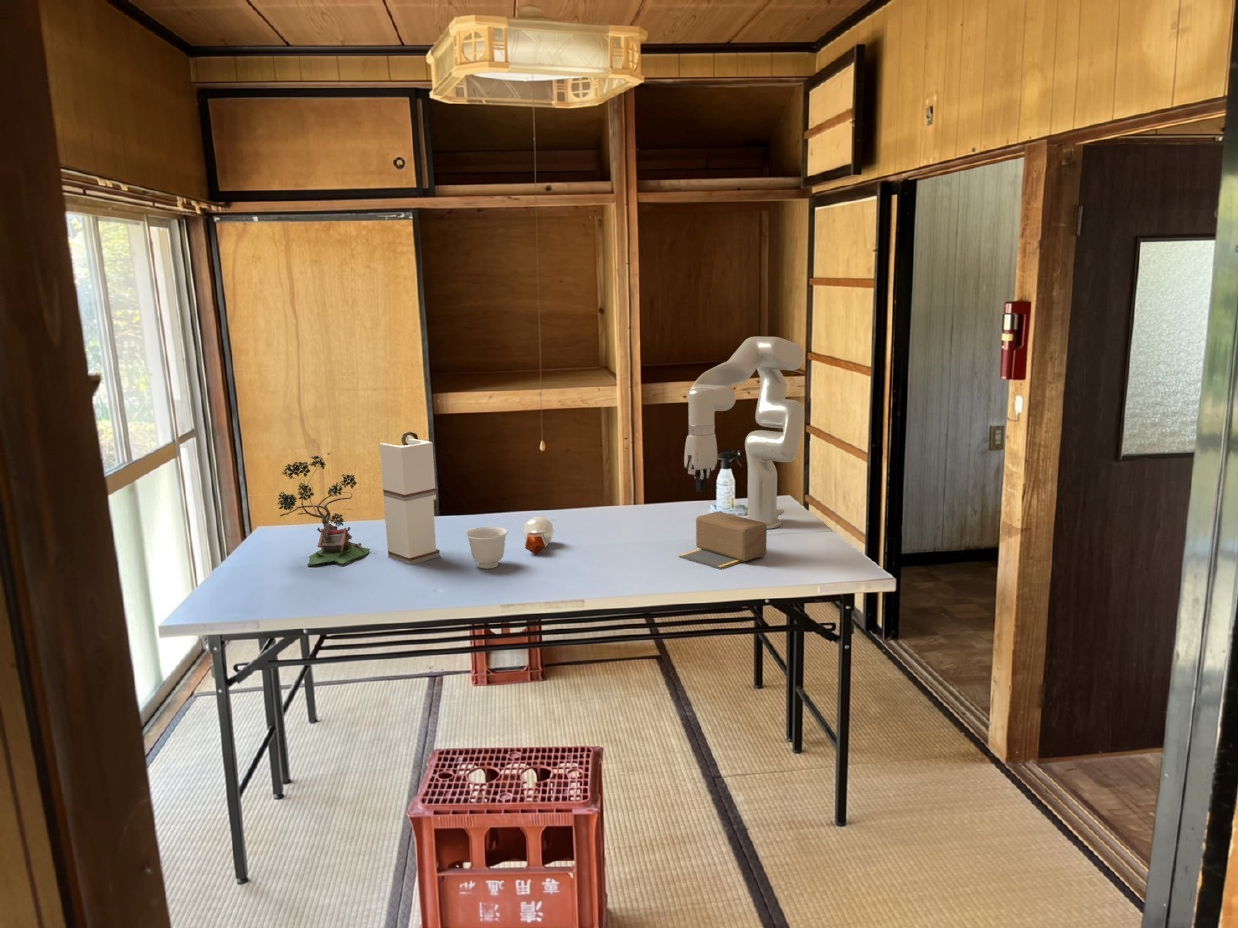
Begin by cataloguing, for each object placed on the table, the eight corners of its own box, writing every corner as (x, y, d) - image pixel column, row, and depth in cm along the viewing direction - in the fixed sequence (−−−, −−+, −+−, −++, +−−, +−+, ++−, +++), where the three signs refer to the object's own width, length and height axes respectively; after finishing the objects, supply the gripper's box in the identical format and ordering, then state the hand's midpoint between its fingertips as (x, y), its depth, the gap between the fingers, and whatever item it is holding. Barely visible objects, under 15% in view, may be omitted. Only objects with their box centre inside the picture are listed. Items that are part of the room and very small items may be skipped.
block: (717, 541, 268) (767, 555, 253) (694, 548, 262) (744, 562, 247) (717, 510, 266) (768, 522, 251) (694, 516, 260) (745, 529, 245)
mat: (719, 544, 267) (719, 542, 267) (760, 555, 255) (760, 553, 255) (679, 557, 255) (679, 555, 255) (720, 569, 244) (720, 567, 243)
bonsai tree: (300, 545, 275) (290, 448, 269) (377, 543, 276) (369, 446, 270) (257, 582, 241) (245, 471, 235) (345, 580, 242) (336, 469, 235)
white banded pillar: (439, 556, 261) (432, 442, 254) (409, 564, 254) (401, 447, 247) (418, 549, 269) (410, 438, 262) (388, 557, 261) (379, 443, 254)
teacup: (487, 554, 262) (485, 522, 260) (517, 565, 251) (516, 531, 249) (453, 564, 254) (451, 531, 252) (483, 575, 243) (481, 540, 241)
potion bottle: (544, 544, 276) (540, 564, 262) (519, 528, 274) (513, 547, 260) (560, 522, 274) (557, 541, 259) (535, 505, 272) (530, 524, 258)
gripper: (709, 426, 261) (709, 485, 265) (674, 432, 251) (675, 493, 255) (728, 428, 255) (727, 489, 259) (693, 435, 246) (693, 497, 249)
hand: (701, 491), depth 257 cm, fingers closed
